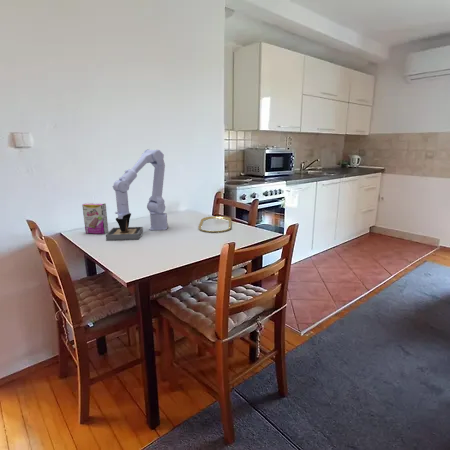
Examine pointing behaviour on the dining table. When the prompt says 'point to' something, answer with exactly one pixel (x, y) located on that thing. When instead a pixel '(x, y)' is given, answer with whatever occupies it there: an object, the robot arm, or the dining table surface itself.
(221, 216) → the gold wire ring
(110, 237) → the charcoal tray
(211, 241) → the dining table surface
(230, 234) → the dining table surface
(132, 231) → the oak hole plate
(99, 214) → the candy bar box
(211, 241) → the dining table surface
